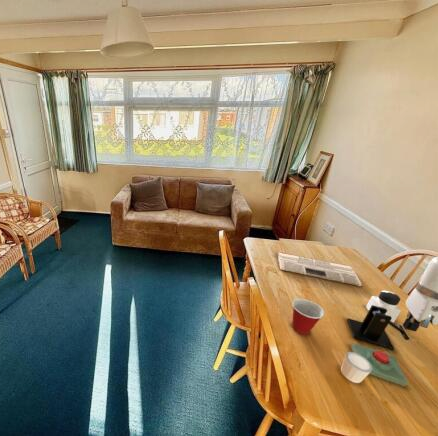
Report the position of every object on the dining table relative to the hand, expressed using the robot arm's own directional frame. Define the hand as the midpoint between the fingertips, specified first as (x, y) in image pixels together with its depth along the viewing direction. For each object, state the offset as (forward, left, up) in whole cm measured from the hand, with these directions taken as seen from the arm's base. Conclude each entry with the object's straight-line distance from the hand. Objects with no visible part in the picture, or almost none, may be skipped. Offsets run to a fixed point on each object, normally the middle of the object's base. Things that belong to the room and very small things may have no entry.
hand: (408, 328), depth 86 cm
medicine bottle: (+1, -15, -9) cm, 17 cm away
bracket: (+9, 0, -8) cm, 13 cm away
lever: (+6, 0, -1) cm, 6 cm away
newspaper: (+22, -42, -9) cm, 48 cm away
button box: (+11, +15, -8) cm, 21 cm away
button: (+11, +15, -5) cm, 19 cm away
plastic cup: (+34, +9, -9) cm, 37 cm away
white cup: (+20, +23, -9) cm, 32 cm away
